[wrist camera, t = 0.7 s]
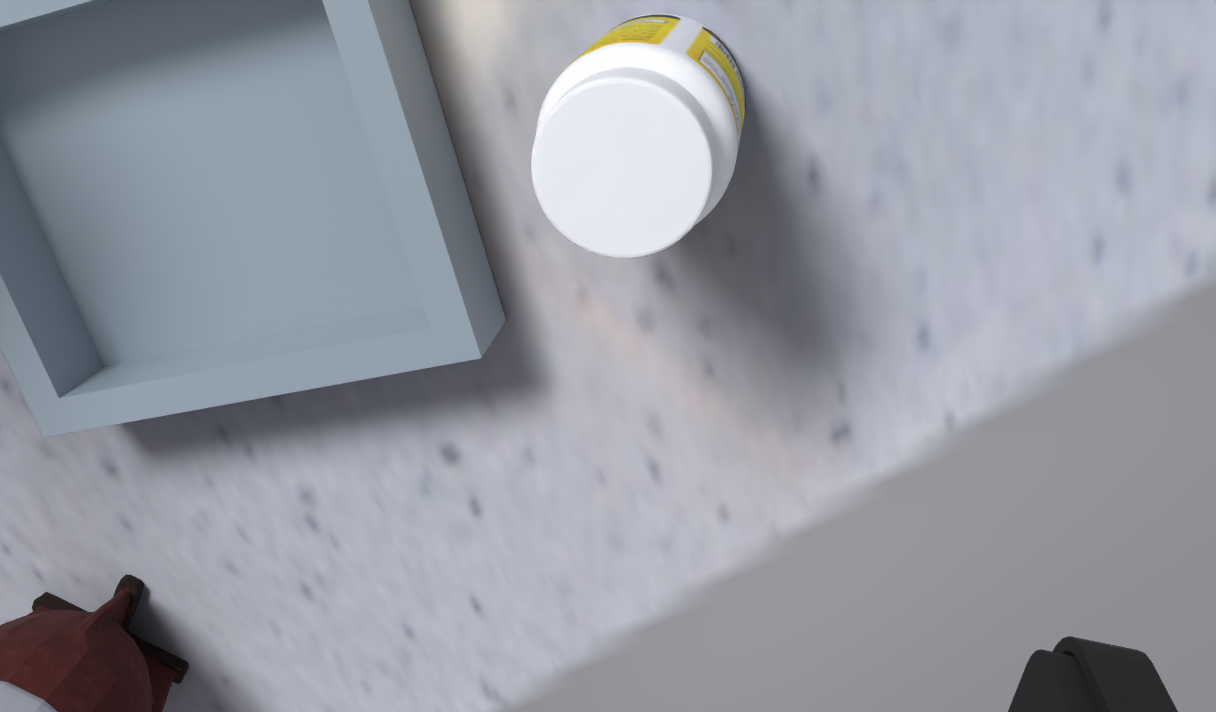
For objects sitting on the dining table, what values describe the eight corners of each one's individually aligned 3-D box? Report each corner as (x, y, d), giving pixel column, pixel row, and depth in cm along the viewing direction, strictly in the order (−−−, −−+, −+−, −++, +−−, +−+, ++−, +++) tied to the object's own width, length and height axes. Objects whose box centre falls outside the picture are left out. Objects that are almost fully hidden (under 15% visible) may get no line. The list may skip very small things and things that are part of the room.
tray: (371, -124, 30) (328, -124, 27) (506, 320, 35) (481, 358, 32) (-80, 12, 34) (-158, 24, 31) (97, 397, 38) (43, 437, 36)
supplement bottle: (555, 139, 32) (479, 220, 24) (617, -18, 30) (556, 18, 22) (705, 207, 32) (676, 309, 25) (777, 55, 30) (769, 116, 23)
